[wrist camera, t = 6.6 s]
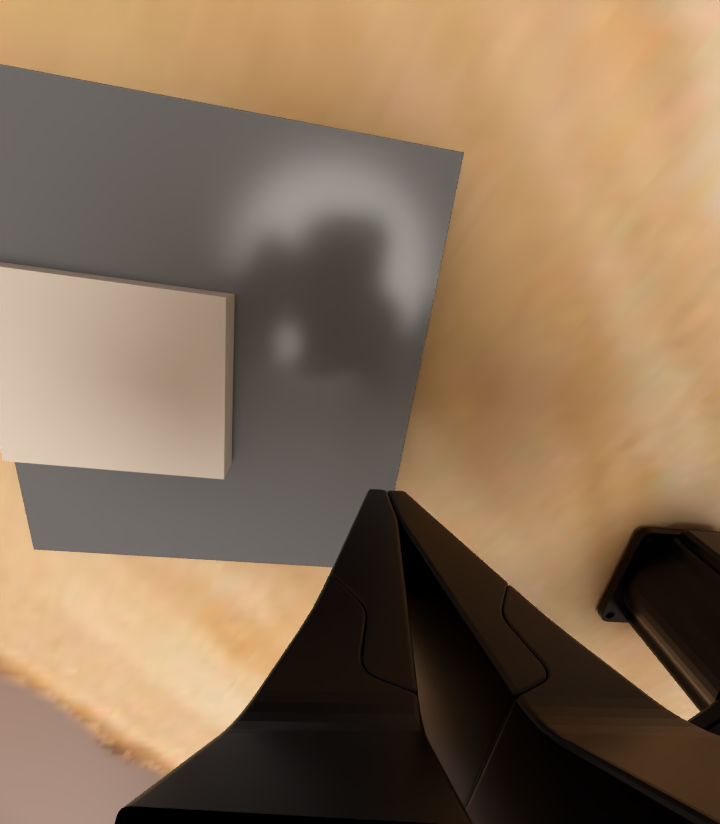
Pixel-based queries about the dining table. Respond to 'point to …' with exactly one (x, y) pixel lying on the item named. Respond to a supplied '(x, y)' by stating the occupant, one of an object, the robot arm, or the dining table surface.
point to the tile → (115, 373)
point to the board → (254, 302)
